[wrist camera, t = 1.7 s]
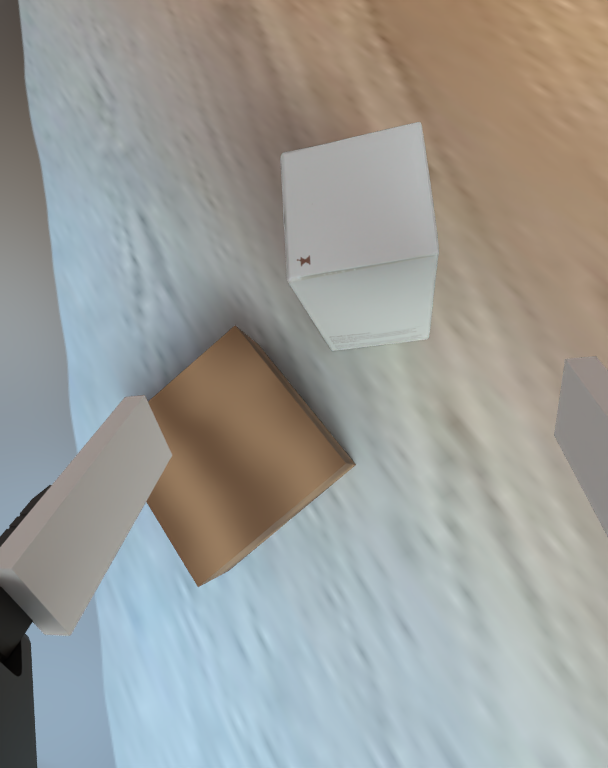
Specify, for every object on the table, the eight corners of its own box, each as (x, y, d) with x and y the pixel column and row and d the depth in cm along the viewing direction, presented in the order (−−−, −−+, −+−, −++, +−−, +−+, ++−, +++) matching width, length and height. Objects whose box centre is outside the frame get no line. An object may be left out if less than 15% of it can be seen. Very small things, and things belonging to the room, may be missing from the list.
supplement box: (431, 341, 31) (442, 258, 19) (329, 352, 33) (280, 282, 21) (420, 247, 33) (425, 116, 21) (324, 263, 34) (275, 149, 22)
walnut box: (259, 345, 35) (235, 325, 30) (356, 464, 31) (346, 463, 26) (148, 442, 35) (107, 437, 31) (230, 569, 32) (198, 587, 27)
